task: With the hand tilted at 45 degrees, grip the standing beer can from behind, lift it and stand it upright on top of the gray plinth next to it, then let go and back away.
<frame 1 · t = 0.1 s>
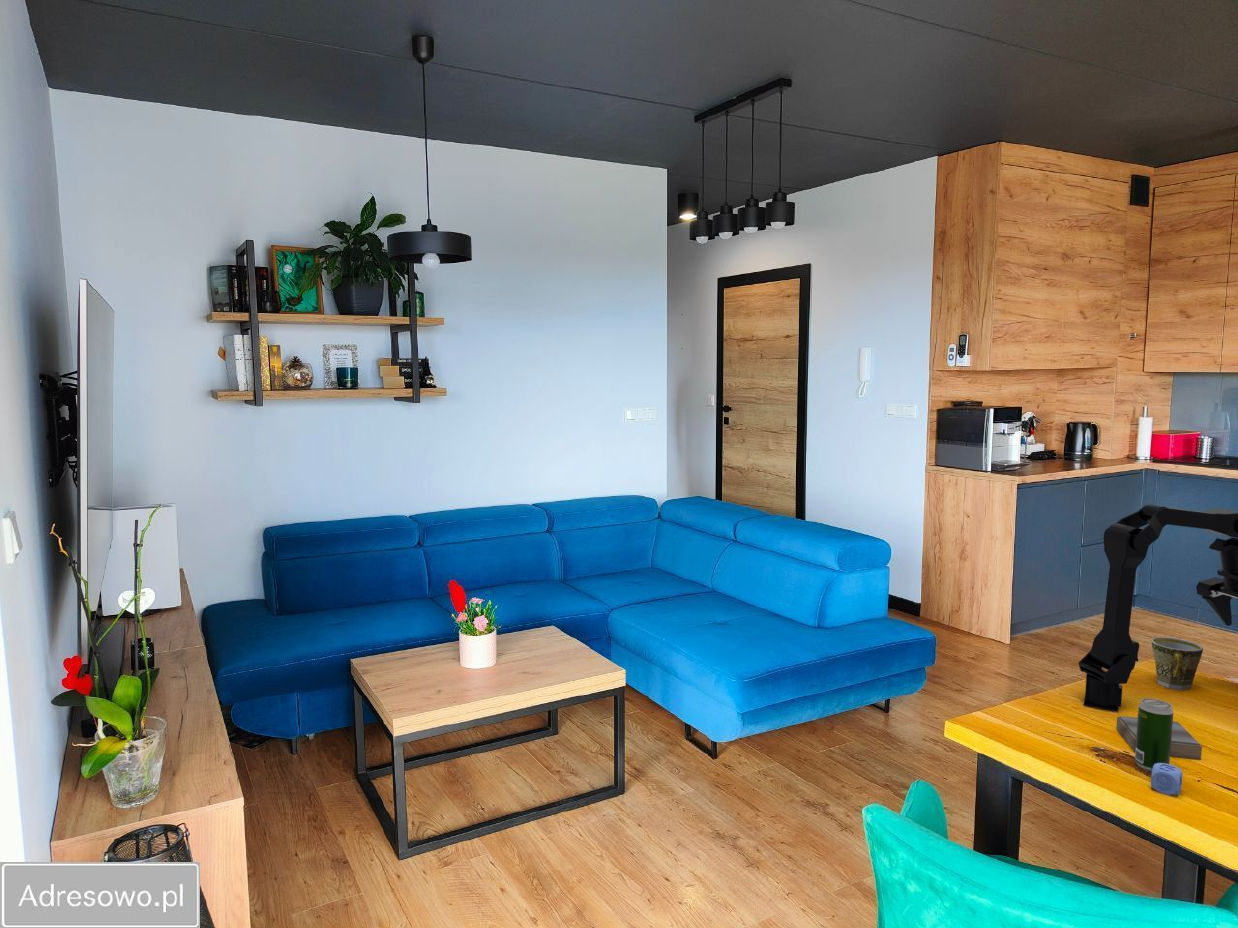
ceramic cup: (1174, 687, 190), on the table
gray plinth: (1156, 743, 160), on the table
beer can: (1151, 767, 150), on the table
decorative dice: (1165, 791, 142), on the table
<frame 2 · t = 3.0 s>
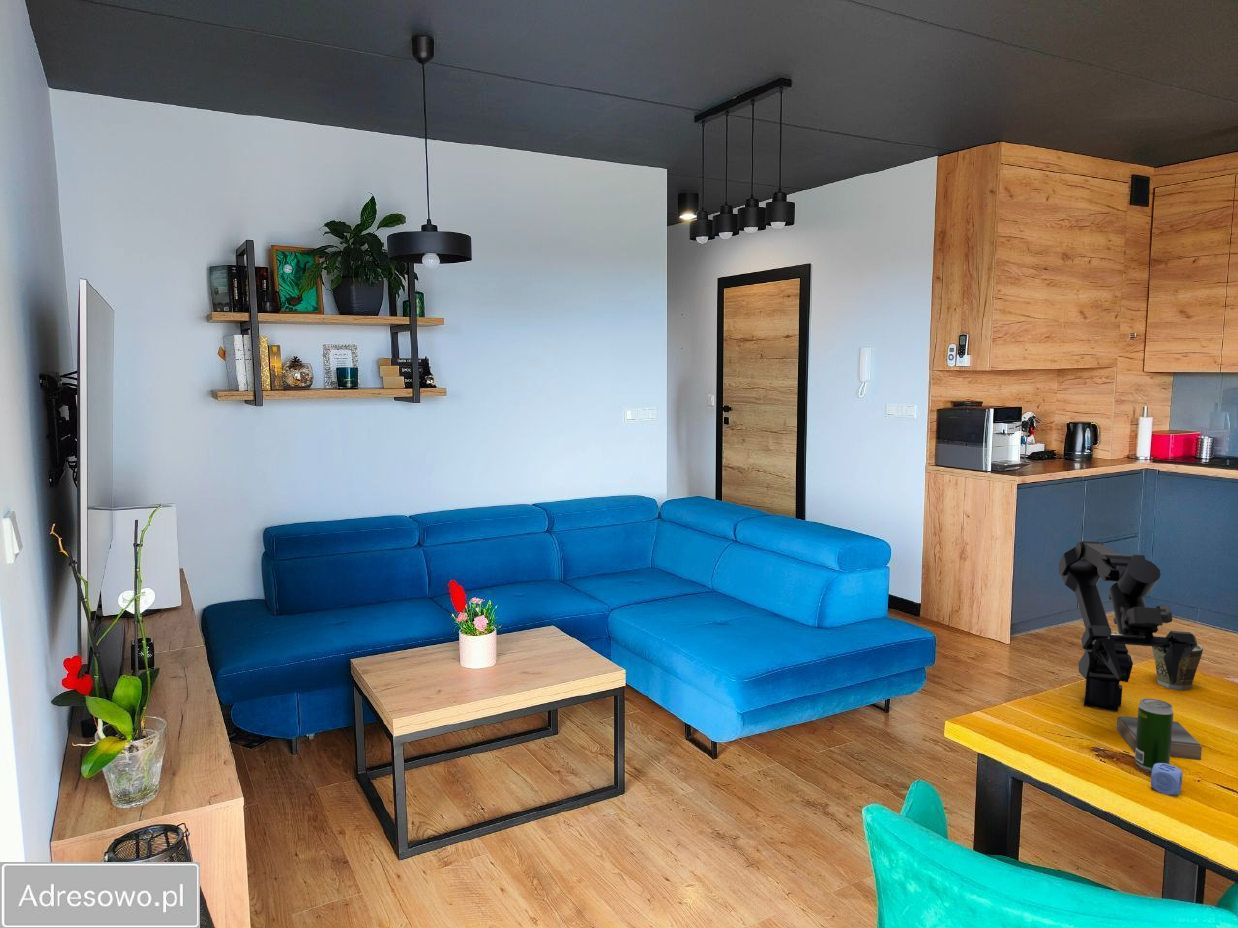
hand: (1146, 681, 156), 14 cm above the table, tool tilted 45°, fingers open, 9 cm apart
nothing on the table moved.
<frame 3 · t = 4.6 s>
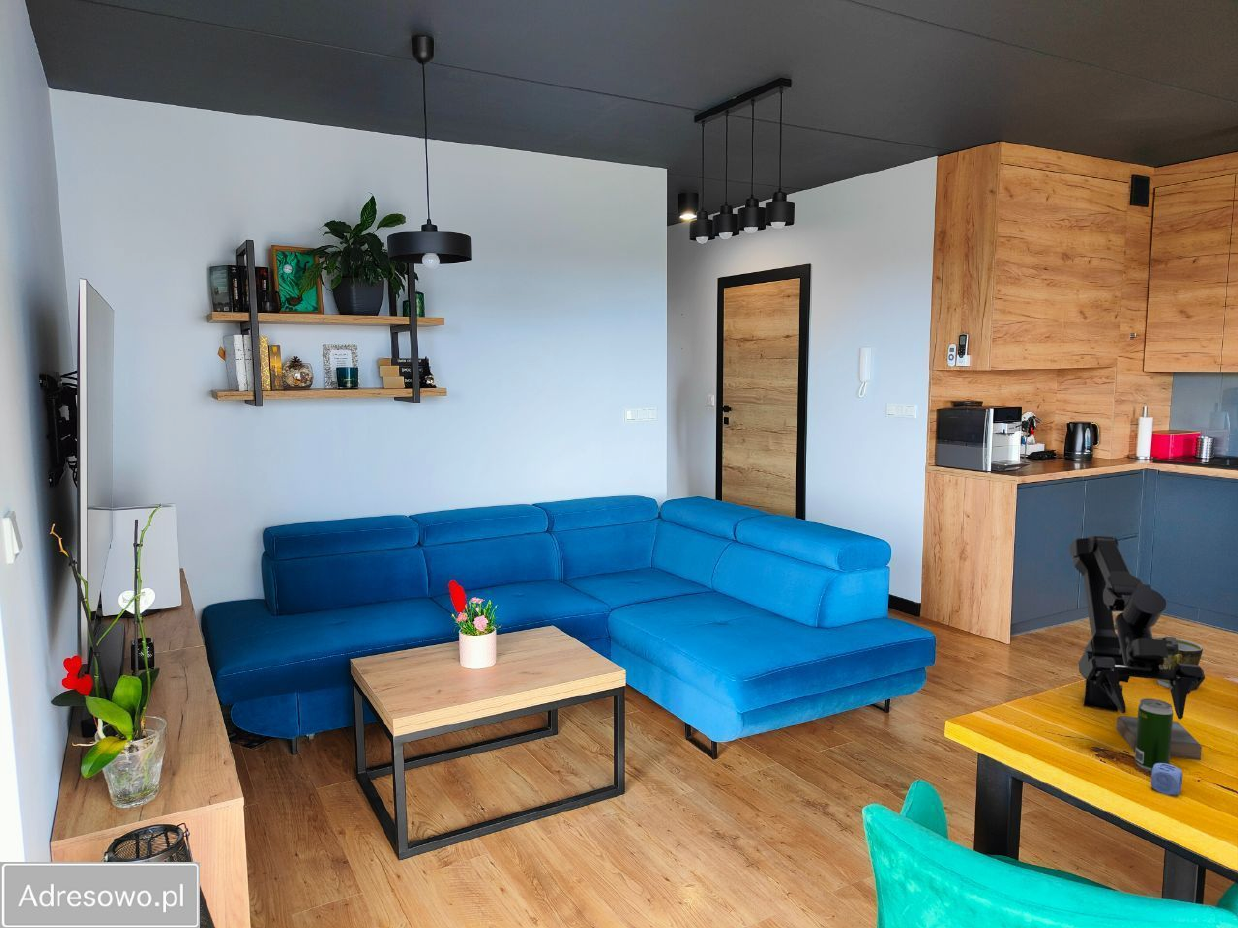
hand: (1152, 715, 151), 9 cm above the table, tool tilted 45°, fingers open, 9 cm apart
nothing on the table moved.
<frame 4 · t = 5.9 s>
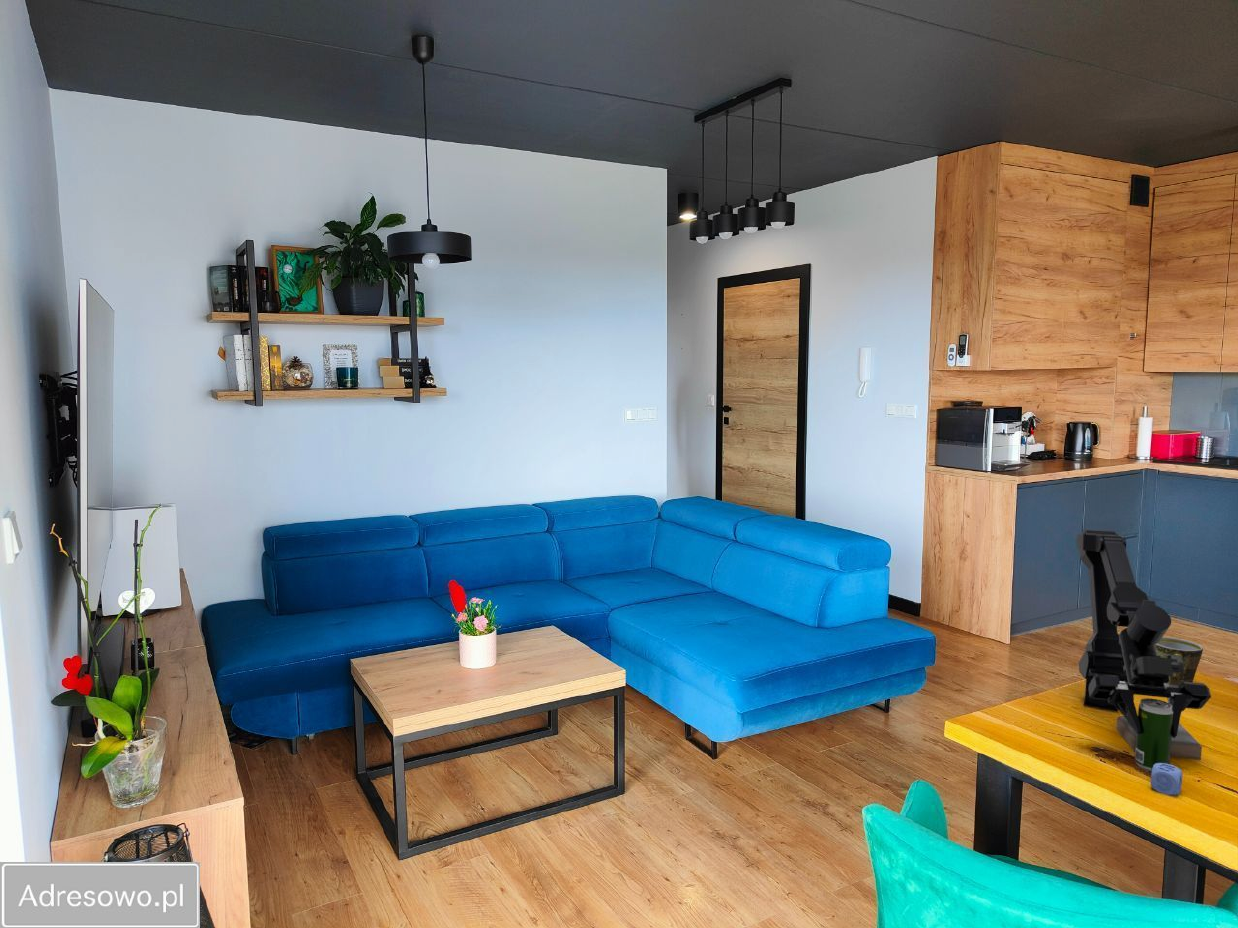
hand: (1156, 734, 148), 7 cm above the table, tool tilted 45°, fingers closed on beer can, 5 cm apart
beer can: (1151, 767, 150), on the table, touching gripper
everything else where it was.
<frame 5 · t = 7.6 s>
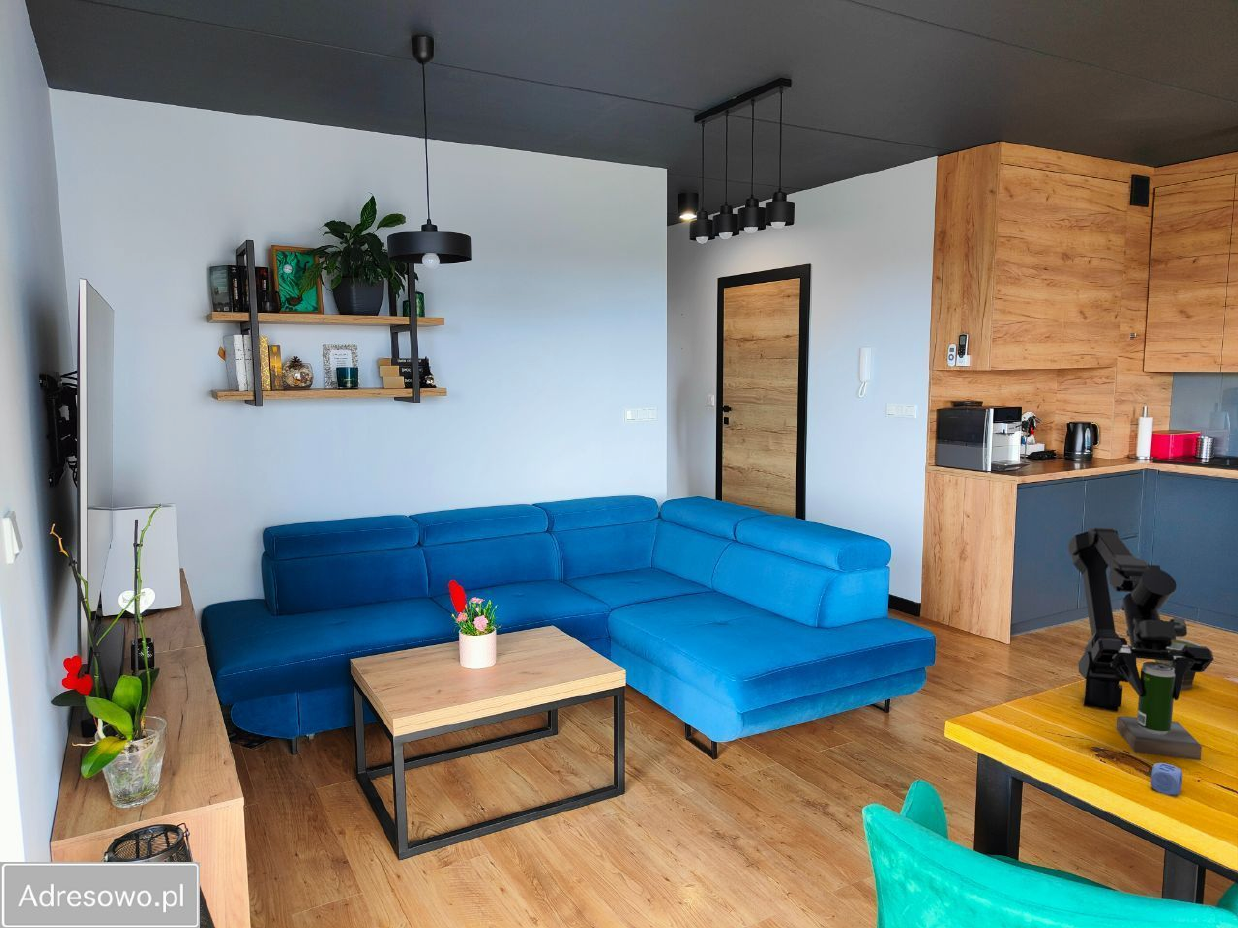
hand: (1159, 697, 149), 13 cm above the table, tool tilted 45°, fingers closed on beer can, 5 cm apart
beer can: (1153, 729, 151), point 6 cm above the table, touching gripper
everything else where it was.
when the fingers open (11 cm above the table, at t = 9.3 s): beer can drops 1 cm, resting on gray plinth.
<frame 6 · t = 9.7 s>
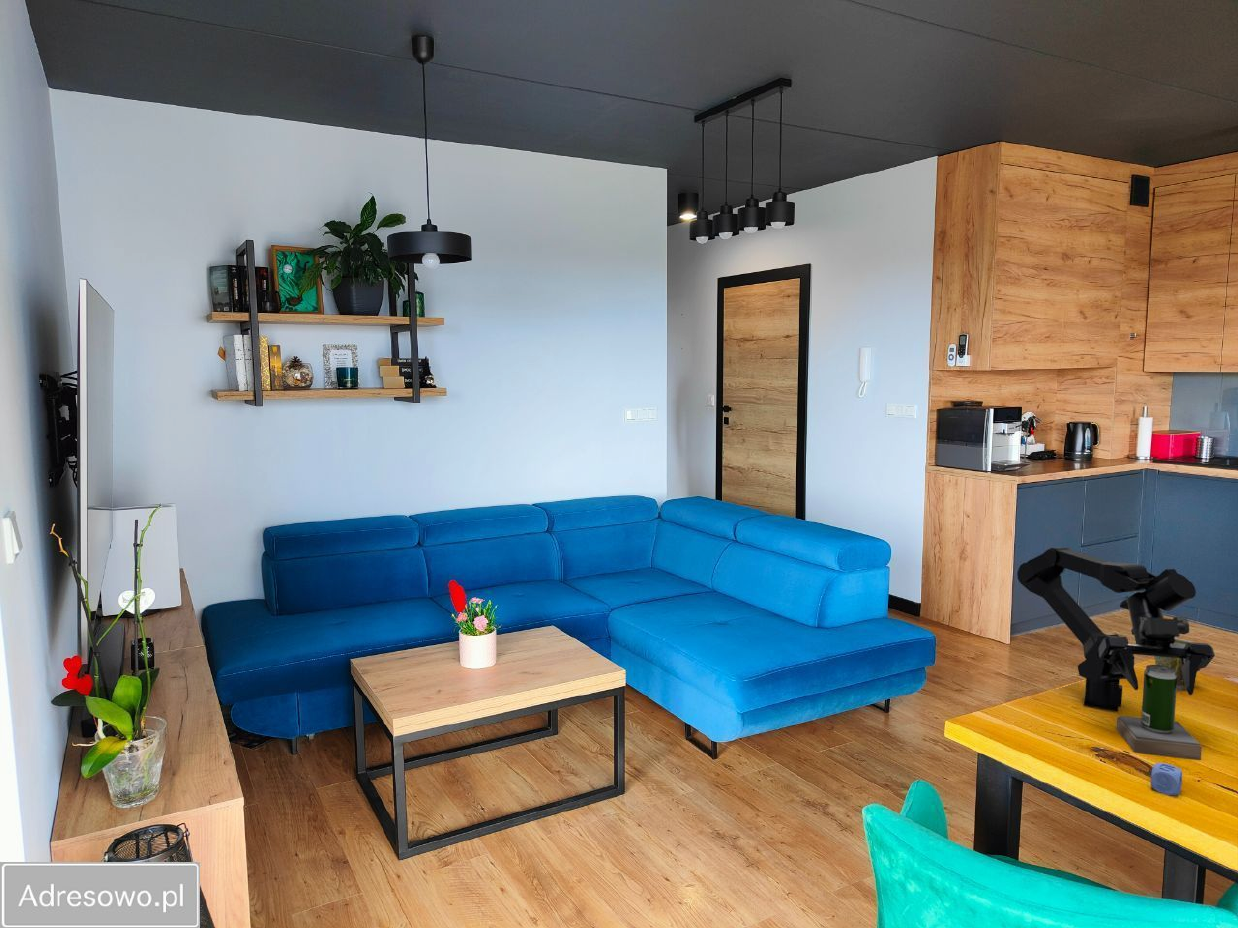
hand: (1163, 691, 157), 11 cm above the table, tool tilted 45°, fingers open, 9 cm apart
beer can: (1157, 729, 160), point 3 cm above the table, touching gray plinth
everything else where it was.
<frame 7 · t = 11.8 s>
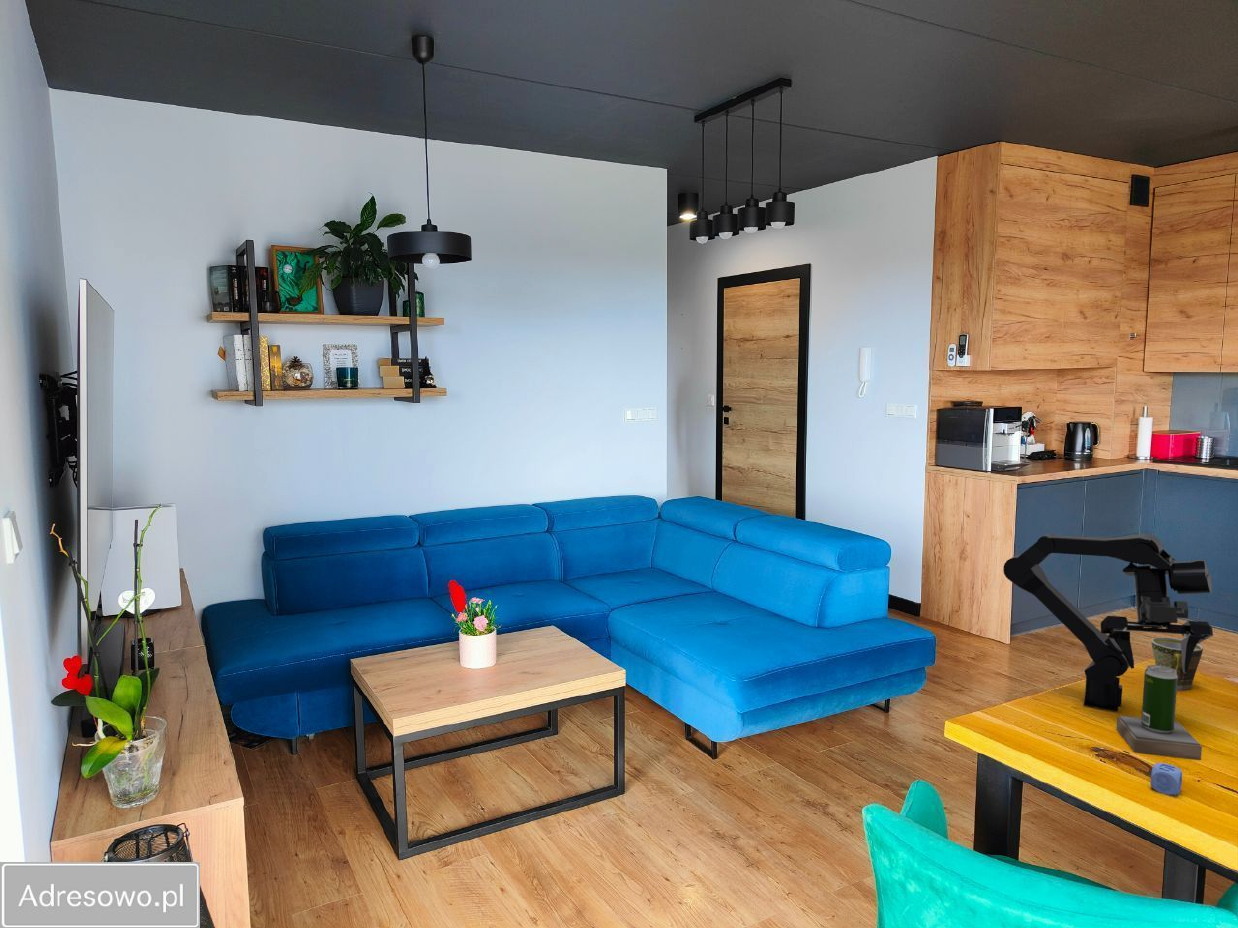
hand: (1158, 670, 166), 12 cm above the table, tool tilted 25°, fingers open, 9 cm apart
nothing on the table moved.
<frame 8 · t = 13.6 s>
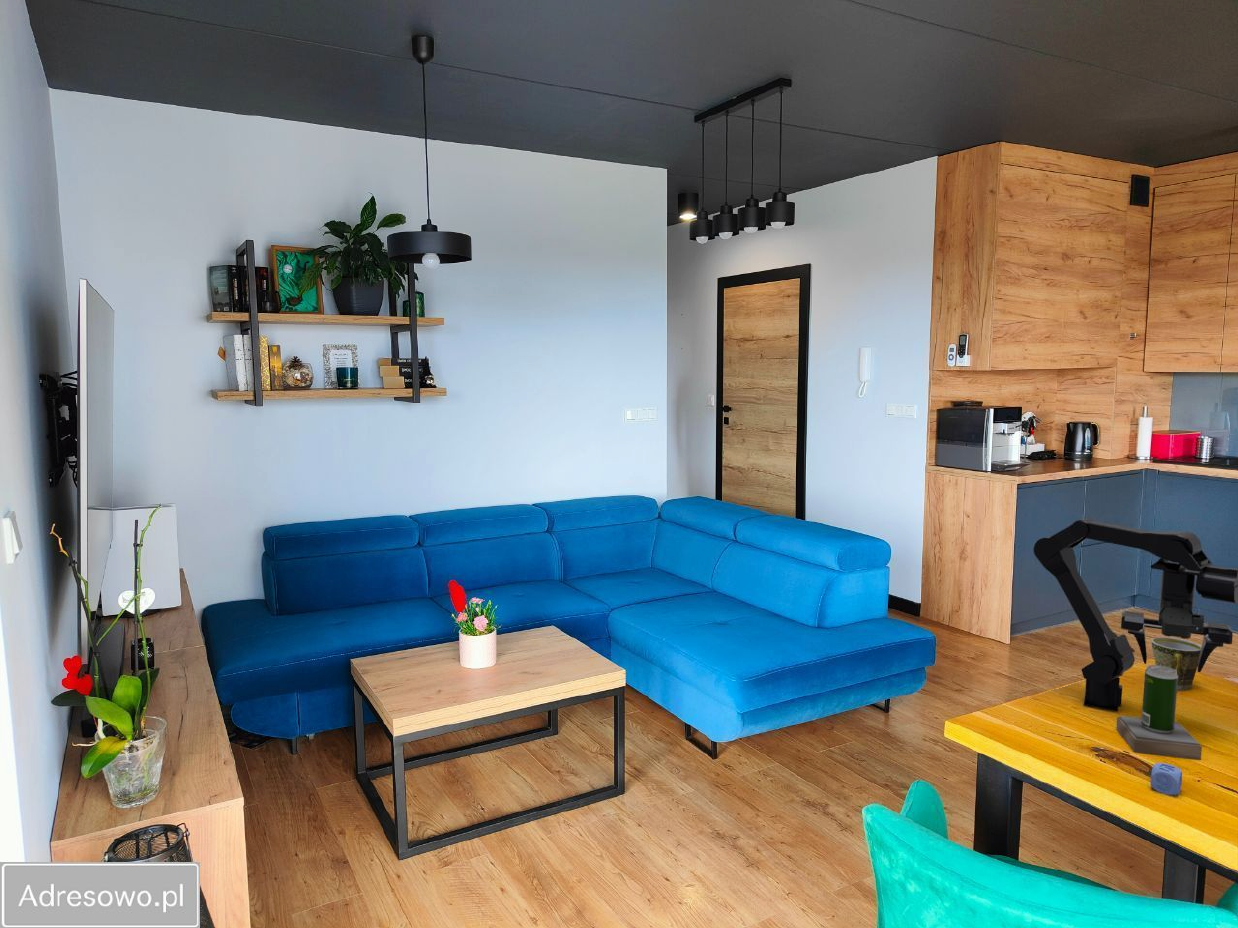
hand: (1171, 667, 168), 12 cm above the table, tool pointing down, fingers open, 9 cm apart
nothing on the table moved.
at the end: beer can 0.1 cm off-centre on the gray plinth, point 2.8 cm above the gray plinth's base; beer can tilted 0°; the gripper is holding nothing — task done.
